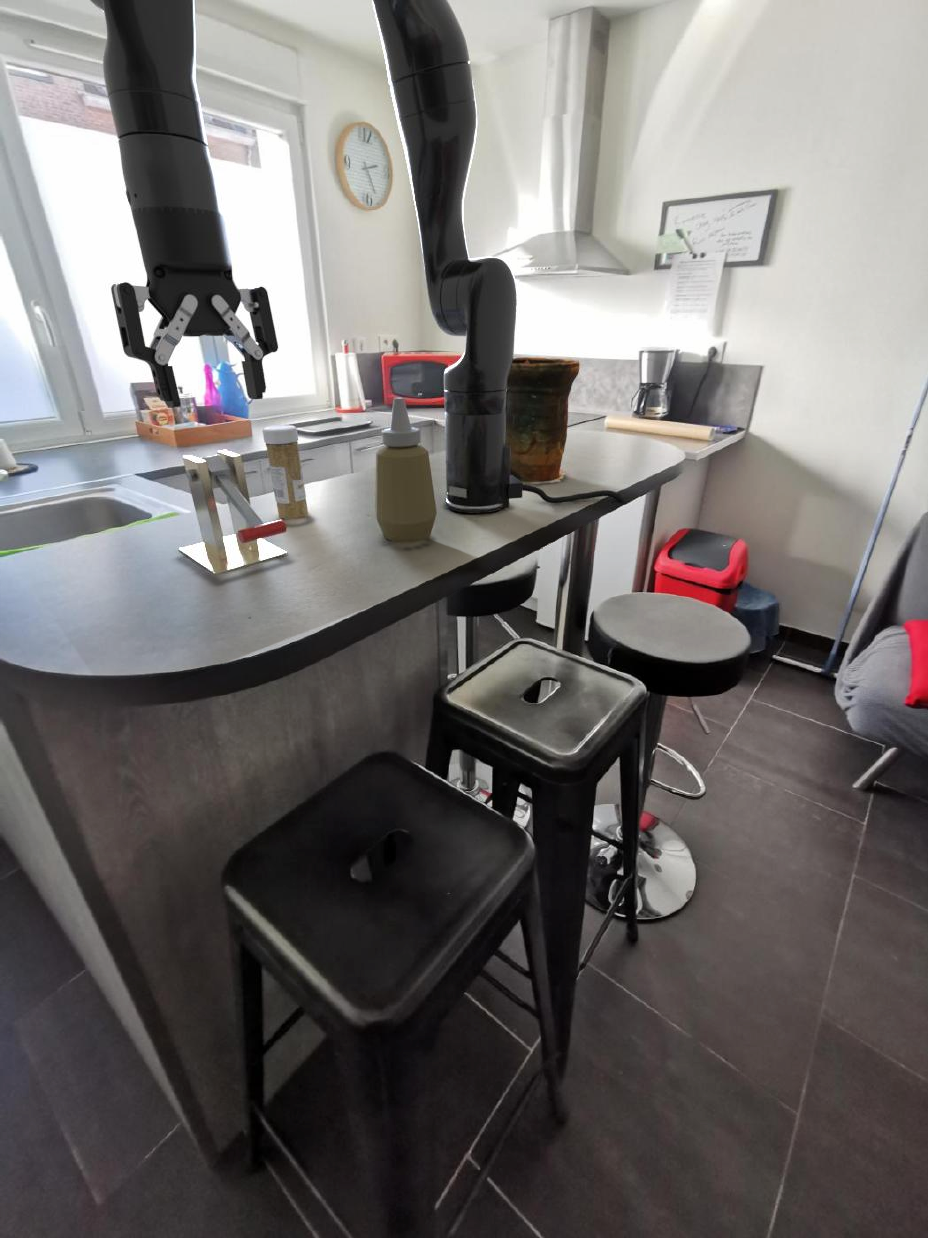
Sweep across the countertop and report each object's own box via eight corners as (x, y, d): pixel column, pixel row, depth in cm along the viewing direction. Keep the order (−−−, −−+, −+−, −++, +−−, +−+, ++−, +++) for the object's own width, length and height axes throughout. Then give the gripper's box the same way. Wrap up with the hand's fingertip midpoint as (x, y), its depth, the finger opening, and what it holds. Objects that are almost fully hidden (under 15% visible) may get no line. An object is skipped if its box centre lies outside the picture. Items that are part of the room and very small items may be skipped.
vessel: (584, 482, 101) (595, 360, 92) (509, 489, 98) (512, 363, 89) (552, 465, 113) (559, 355, 104) (484, 470, 110) (485, 358, 101)
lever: (286, 538, 63) (287, 521, 62) (243, 549, 60) (244, 532, 59) (230, 469, 68) (230, 452, 66) (188, 476, 65) (187, 459, 63)
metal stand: (289, 562, 70) (271, 456, 64) (217, 583, 64) (190, 470, 58) (248, 540, 77) (229, 443, 71) (181, 558, 71) (153, 455, 65)
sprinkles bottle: (314, 522, 83) (301, 427, 77) (283, 528, 81) (267, 430, 75) (303, 514, 87) (290, 422, 80) (274, 519, 84) (257, 426, 78)
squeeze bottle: (390, 555, 71) (378, 404, 63) (369, 536, 77) (355, 396, 69) (447, 544, 74) (443, 399, 66) (423, 527, 81) (416, 392, 72)
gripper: (101, 192, 44) (157, 413, 51) (271, 212, 52) (297, 398, 60) (76, 206, 48) (130, 406, 56) (235, 222, 57) (264, 393, 65)
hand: (216, 402), depth 58 cm, fingers open, 8 cm apart
